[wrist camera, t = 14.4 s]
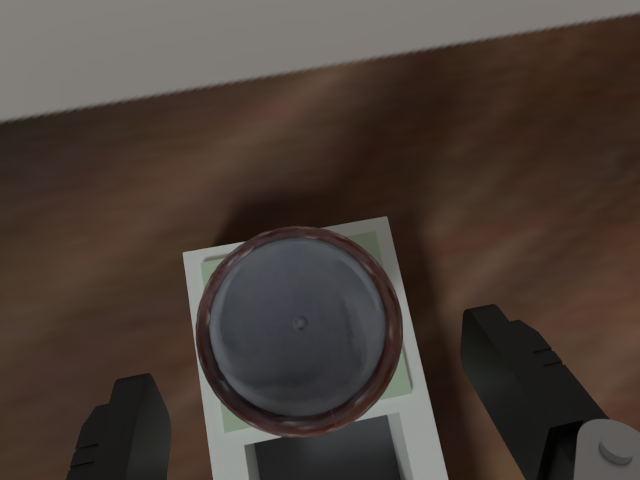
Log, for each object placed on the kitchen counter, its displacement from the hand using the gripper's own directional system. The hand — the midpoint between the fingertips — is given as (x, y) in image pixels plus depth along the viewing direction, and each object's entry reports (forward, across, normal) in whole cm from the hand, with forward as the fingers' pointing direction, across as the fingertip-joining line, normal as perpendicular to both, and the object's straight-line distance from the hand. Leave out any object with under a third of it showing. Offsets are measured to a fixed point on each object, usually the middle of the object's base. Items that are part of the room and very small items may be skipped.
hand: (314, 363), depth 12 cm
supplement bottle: (+8, 0, +6) cm, 10 cm away
